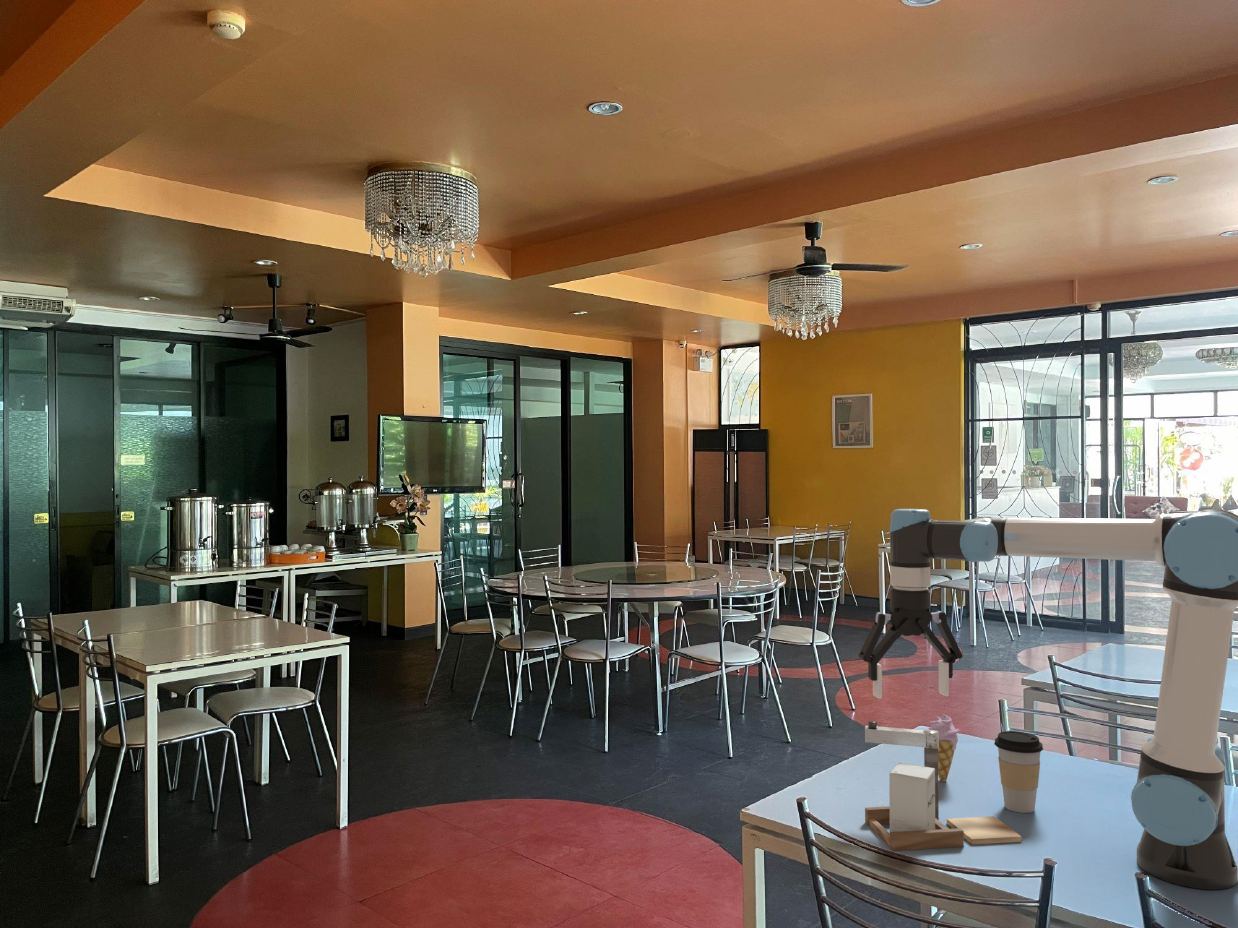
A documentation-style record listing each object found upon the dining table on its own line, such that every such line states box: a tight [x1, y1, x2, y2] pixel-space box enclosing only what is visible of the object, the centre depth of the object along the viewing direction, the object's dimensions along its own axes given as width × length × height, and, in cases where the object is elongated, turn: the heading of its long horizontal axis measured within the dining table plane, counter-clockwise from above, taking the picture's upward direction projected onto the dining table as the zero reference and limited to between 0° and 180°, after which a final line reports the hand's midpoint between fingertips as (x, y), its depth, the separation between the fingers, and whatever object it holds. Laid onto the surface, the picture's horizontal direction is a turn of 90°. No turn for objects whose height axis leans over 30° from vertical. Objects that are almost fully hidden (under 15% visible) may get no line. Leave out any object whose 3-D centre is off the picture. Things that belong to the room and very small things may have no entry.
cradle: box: [864, 747, 965, 852], centre depth 175 cm, size 15×16×14 cm
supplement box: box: [889, 762, 936, 833], centre depth 174 cm, size 7×7×13 cm
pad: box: [946, 815, 1022, 845], centre depth 174 cm, size 10×10×1 cm
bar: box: [864, 720, 939, 749], centre depth 184 cm, size 14×3×4 cm, turn 72°
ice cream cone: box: [927, 713, 961, 783], centre depth 203 cm, size 7×6×15 cm
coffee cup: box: [993, 730, 1044, 814], centre depth 187 cm, size 9×9×15 cm
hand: (910, 695), depth 174 cm, fingers open, 13 cm apart
